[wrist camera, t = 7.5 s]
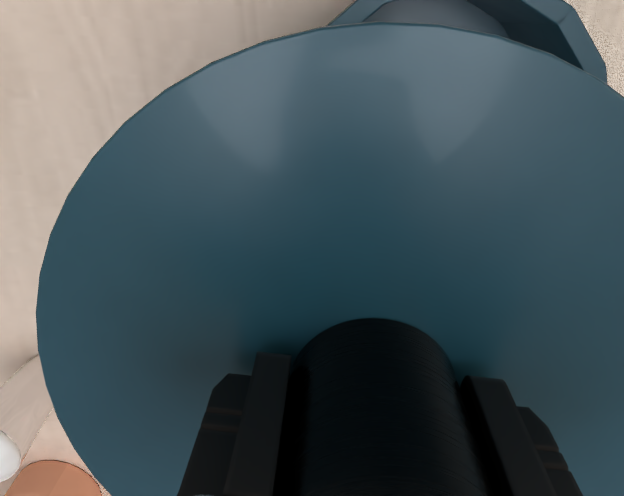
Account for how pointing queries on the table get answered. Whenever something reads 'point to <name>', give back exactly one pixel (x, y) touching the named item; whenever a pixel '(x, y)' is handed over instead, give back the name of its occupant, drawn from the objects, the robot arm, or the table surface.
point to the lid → (348, 262)
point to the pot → (494, 23)
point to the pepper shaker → (53, 481)
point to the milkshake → (21, 414)
